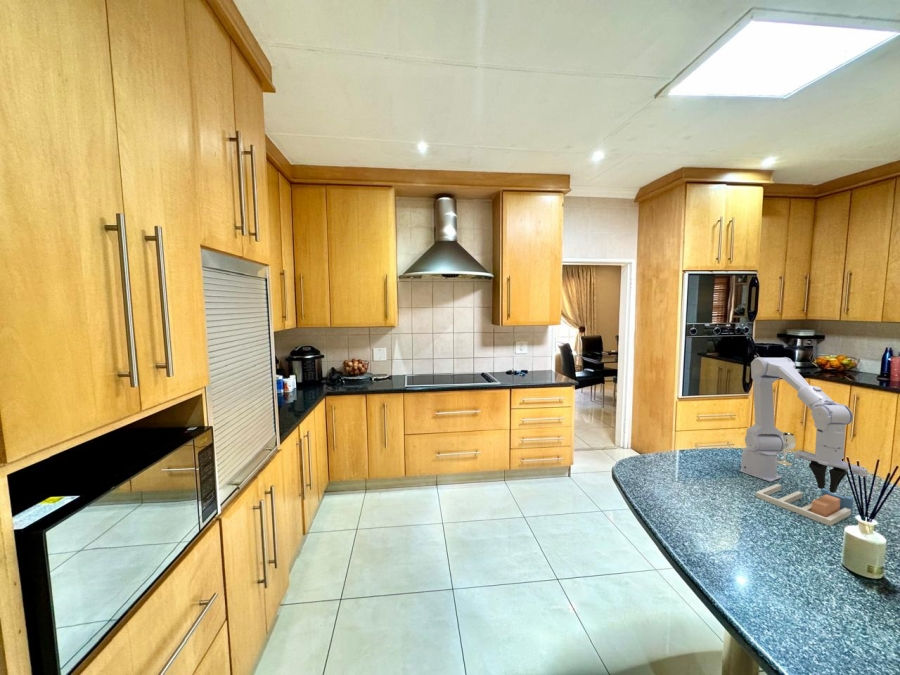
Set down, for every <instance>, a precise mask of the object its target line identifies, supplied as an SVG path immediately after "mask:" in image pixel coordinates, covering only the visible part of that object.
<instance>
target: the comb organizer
mask: <svg viewBox="0 0 900 675" xmlns="http://www.w3.org/2000/svg"><path fill="white" fill-rule="evenodd" d="M781 490H782V484H780V483H776V484H772V485H771V486H768V487H765V488H763V489H761V490H758V491H755V498H758V499H759V500H762V501H764V502H768V503H771V504H773V505H775V506H778V507H781V508H784V509H785V510H788V511H791V512H793V513H795V512H796V514H799V515H801V516H803V517H806V518H807V519H808V518H809V519H810V520H814V521H815V522H819V523H821V524H823V525H826V526H829V527H831V526H833V525H835V524H837V523H839V522H840V521H842V520H844V519H846V518H848V517H849V516H851V515H852V514H851V509H848V508H843V509H841V510H840V511H838V512H836V513H834V514H832V515H830V516H828V517H823V516H821V515H818V514H816V513H813V512H811V510H812V502H811V503H809V504H807V505H805V506H802V507H800V506H796V505H794V504H791V503H793V502H795V501H797V500H801V499H802V498H803V491H799V490H796V491H794V492H792V493H790V494H788V495H785V496H783V497H781V498H776V497H773V496H770V495H772V494H775V493H777V492H779V491H781Z"/></svg>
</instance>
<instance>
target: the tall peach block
mask: <svg viewBox="0 0 900 675" xmlns="http://www.w3.org/2000/svg"><path fill="white" fill-rule="evenodd" d="M811 503H812V510H811V512H813V513H816V514H818V515H821V516H823V517H828V516H830V515H832V514H834V513H836V512H838V511H840V499H839V498H836V497H833V496H830V495H827V494H826V495H824V496H822V495H821V496H820V497H818V498H816V499H813V500H812V501H811Z"/></svg>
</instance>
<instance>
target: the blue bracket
mask: <svg viewBox="0 0 900 675" xmlns="http://www.w3.org/2000/svg"><path fill="white" fill-rule="evenodd" d="M820 492H821V497H822V496H824V495H826V494H827V495H830V496H833V497H836V498H839V499H840V510H841V509H843V508H848V509H851V515H852V514H854V511H853V510H854V497H852V496H848V495H847V496H845V497H844V496H841V495H839V494H835V493H831V492H830V489H827V488H823V489H820Z"/></svg>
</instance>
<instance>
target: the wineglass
mask: <svg viewBox="0 0 900 675" xmlns="http://www.w3.org/2000/svg"><path fill="white" fill-rule="evenodd" d="M781 432H782V437H783V440H784V442H785V448H784V450H783V451H782V453H783V460H777V464H779V465H782V466H791V467H792V466H793V463H791V462H788V461H787V460H786V456H787V452H788V451H790V450H794V449H795V448H796V444H797V441H796V437H795V434H794V433H791V432H787V431H781Z"/></svg>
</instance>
